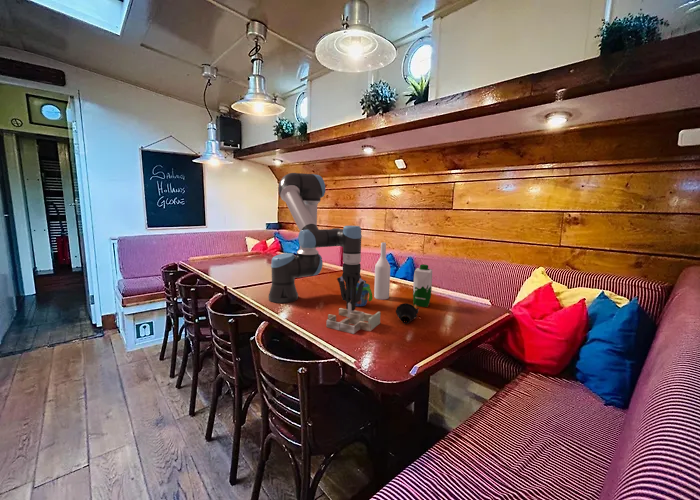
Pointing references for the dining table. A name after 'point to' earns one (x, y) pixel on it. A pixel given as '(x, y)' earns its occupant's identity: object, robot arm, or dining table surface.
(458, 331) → the dining table surface
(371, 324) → the box
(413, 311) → the fried shrimp in bowl
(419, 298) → the milk carton
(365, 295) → the snack cup
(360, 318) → the cream block
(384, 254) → the bottle
